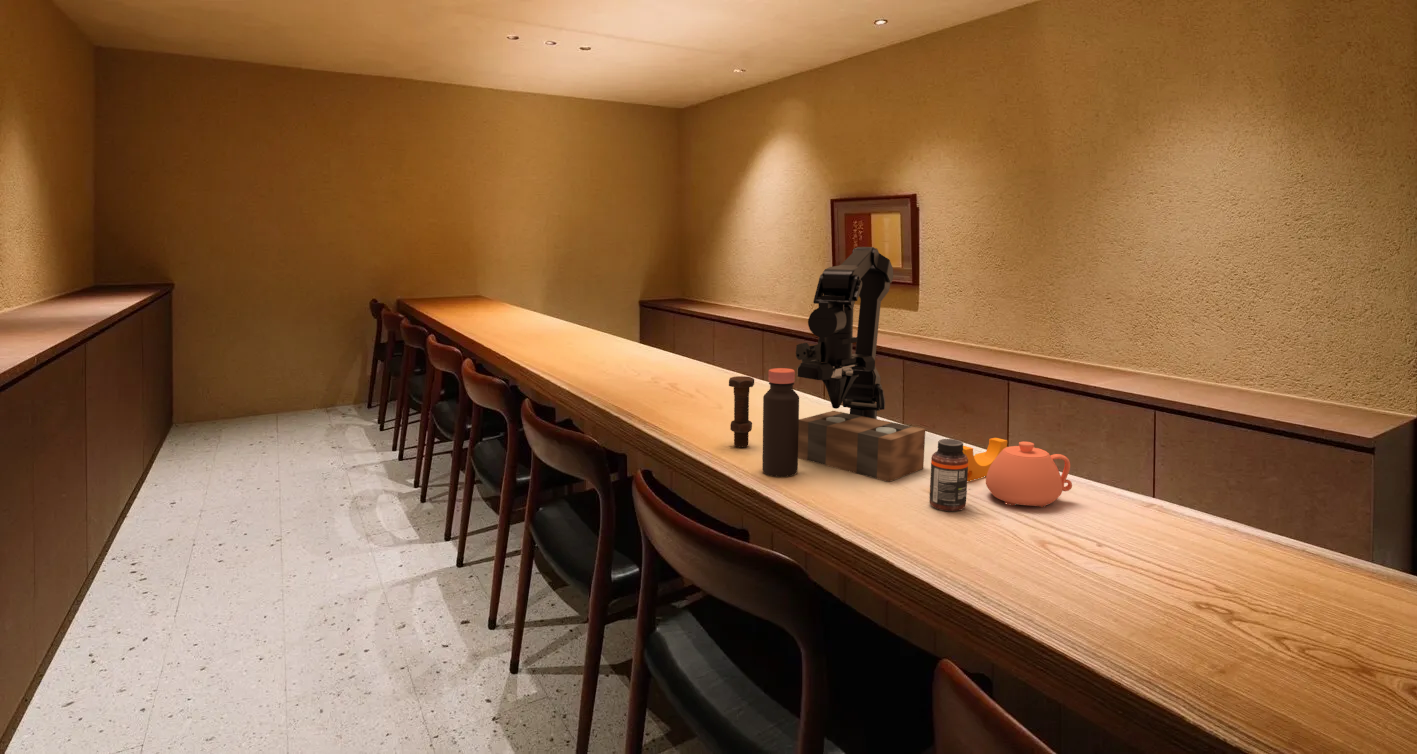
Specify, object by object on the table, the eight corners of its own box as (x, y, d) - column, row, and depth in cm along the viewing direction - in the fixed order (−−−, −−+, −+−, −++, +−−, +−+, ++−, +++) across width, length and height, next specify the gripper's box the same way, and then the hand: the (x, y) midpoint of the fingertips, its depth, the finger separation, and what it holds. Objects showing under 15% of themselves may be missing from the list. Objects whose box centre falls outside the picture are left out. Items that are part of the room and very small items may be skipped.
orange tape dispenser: (986, 467, 152) (988, 435, 151) (1005, 472, 148) (1007, 440, 147) (945, 477, 146) (947, 444, 144) (964, 483, 142) (966, 449, 141)
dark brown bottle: (769, 465, 153) (771, 366, 149) (802, 469, 150) (804, 368, 146) (757, 474, 147) (758, 371, 143) (790, 479, 144) (792, 374, 140)
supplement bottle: (935, 498, 134) (939, 435, 132) (970, 504, 130) (974, 440, 128) (923, 507, 129) (927, 442, 127) (959, 515, 126) (963, 448, 123)
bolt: (750, 450, 163) (751, 381, 160) (727, 449, 164) (727, 380, 161) (754, 443, 169) (755, 376, 166) (731, 442, 170) (732, 375, 167)
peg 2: (881, 460, 152) (883, 426, 151) (898, 464, 150) (899, 429, 148) (870, 464, 150) (872, 429, 148) (887, 468, 147) (888, 432, 146)
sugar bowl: (979, 486, 140) (983, 432, 138) (1060, 490, 138) (1065, 435, 136) (991, 509, 128) (995, 450, 126) (1081, 515, 126) (1086, 455, 124)
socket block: (832, 446, 166) (833, 410, 165) (923, 468, 150) (925, 428, 149) (797, 457, 158) (797, 419, 156) (889, 482, 142) (890, 440, 141)
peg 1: (832, 448, 161) (833, 415, 160) (847, 452, 158) (848, 418, 157) (821, 451, 158) (822, 418, 157) (836, 455, 156) (837, 422, 154)
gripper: (834, 325, 166) (831, 396, 168) (777, 332, 153) (775, 408, 156) (877, 329, 158) (874, 403, 161) (821, 337, 145) (819, 418, 148)
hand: (835, 408), depth 156 cm, fingers closed
